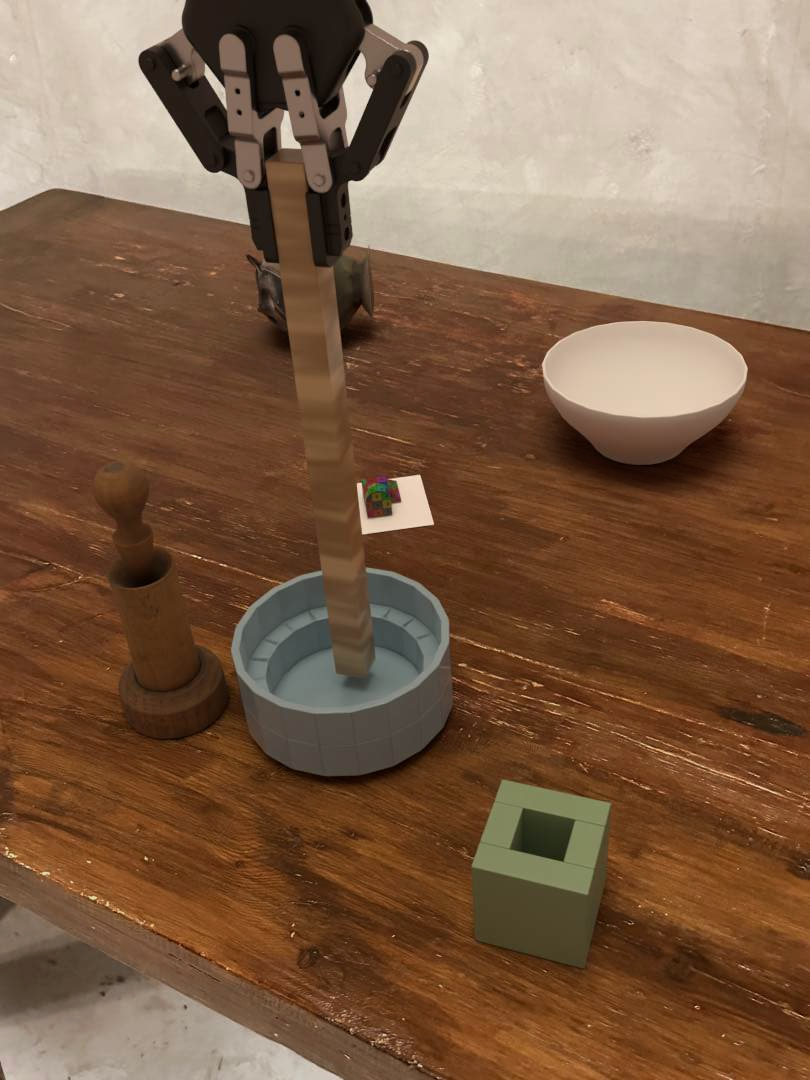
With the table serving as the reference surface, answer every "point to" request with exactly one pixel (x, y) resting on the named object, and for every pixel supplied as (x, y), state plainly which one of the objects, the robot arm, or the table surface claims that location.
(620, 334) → the bowl
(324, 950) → the table surface
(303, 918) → the table surface
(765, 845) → the table surface
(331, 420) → the stick
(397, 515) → the white board
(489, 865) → the stick holder
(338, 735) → the light blue round container
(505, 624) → the table surface
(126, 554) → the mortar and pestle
